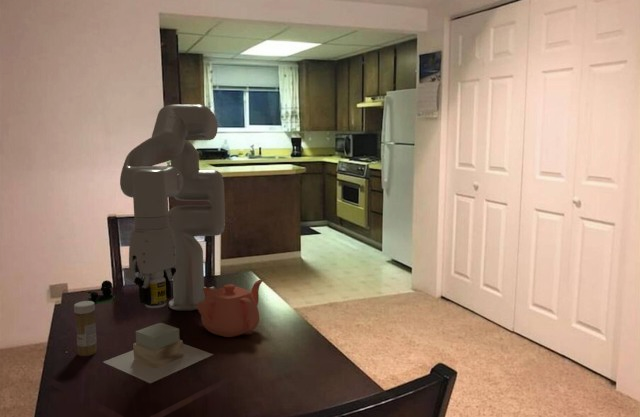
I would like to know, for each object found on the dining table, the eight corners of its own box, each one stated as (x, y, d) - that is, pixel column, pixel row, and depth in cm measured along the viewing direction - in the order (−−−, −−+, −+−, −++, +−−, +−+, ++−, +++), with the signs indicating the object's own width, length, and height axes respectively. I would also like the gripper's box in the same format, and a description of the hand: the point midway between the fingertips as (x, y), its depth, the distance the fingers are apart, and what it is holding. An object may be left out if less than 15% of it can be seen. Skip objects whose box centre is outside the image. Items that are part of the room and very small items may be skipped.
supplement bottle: (160, 309, 120) (158, 273, 119) (141, 308, 121) (139, 272, 120) (170, 302, 125) (168, 268, 123) (152, 301, 126) (150, 267, 124)
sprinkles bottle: (74, 356, 128) (70, 303, 126) (92, 350, 132) (88, 298, 130) (83, 361, 125) (79, 307, 123) (101, 355, 129) (98, 302, 127)
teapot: (204, 323, 150) (203, 277, 148) (263, 321, 152) (263, 275, 150) (197, 345, 134) (195, 295, 133) (263, 343, 136) (262, 293, 134)
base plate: (166, 341, 137) (165, 337, 137) (213, 358, 127) (213, 354, 127) (102, 366, 123) (102, 361, 123) (150, 387, 113) (150, 383, 112)
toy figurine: (78, 302, 169) (76, 285, 169) (100, 293, 179) (99, 277, 178) (103, 306, 166) (101, 288, 165) (124, 296, 175) (123, 280, 175)
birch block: (162, 348, 130) (161, 333, 130) (183, 356, 126) (182, 340, 125) (134, 359, 124) (133, 343, 123) (155, 368, 119) (154, 351, 119)
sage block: (161, 334, 129) (160, 322, 129) (179, 340, 125) (179, 328, 125) (136, 343, 123) (135, 331, 123) (154, 350, 119) (154, 338, 119)
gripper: (171, 217, 129) (174, 288, 132) (108, 227, 115) (113, 306, 118) (192, 219, 125) (194, 294, 127) (129, 230, 111) (133, 313, 114)
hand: (155, 299), depth 123 cm, fingers closed on supplement bottle, 4 cm apart
